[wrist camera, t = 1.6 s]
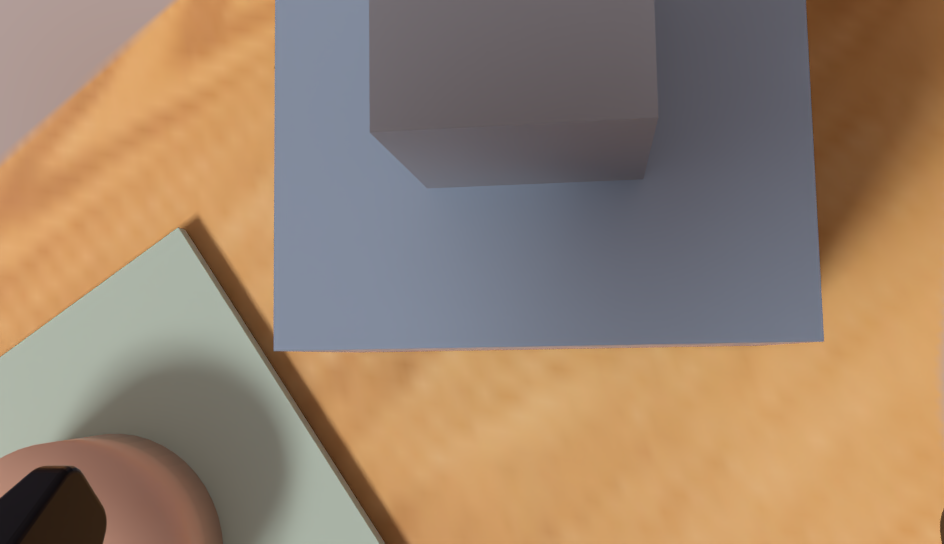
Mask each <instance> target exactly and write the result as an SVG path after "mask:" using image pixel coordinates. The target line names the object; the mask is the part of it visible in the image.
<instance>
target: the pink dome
mask: <svg viewBox="0 0 944 544" xmlns="http://www.w3.org/2000/svg"><path fill="white" fill-rule="evenodd" d="M41 466H75V467H76V468H78V469H80V470H81V472H82V473H83V474H84V476H85V478H86V479H87V481H88V482H89V484H90V486H91V487H92V489H93V491H94V492H95V494H96V495H97V497H98V499H99V500H100V502H101V504H102V505H103V507H104V509H105V513H106V518H107V527H106V534H105V538H104V542H103V544H223V539H222V530H221V526H220V522H219V517H218V514H217V511H216V508H215V506H214V503H213V500H212V498H211V496H210V495H209V493H208V491H207V489H206V487H205V485H204V484H203V483H202V481H201V480H200V478H199V477H198V475H197V474H196V473H195V472H194V471H193V470H192V468H191V467H190V466H189V465H188V464H187V463H186V462H185V461H184V460H182V459H181V458H180V457H179V456H178V455H176V454H175V453H174V452H172V451H171V450H169V449H167V448H166V447H164V446H163V445H160V444H158V443H156V442H154V441H151V440H149V439H146V438H142V437H139V436H135V435H127V434H102V435H95V436H89V437H82V438H76V439H69V440H63V441H56V442H50V443H43V444H37V445H32V446H29V447H25V448H22V449H18V450H16V451H14V452H12V453H10V454H7V455H5V456H3V457H2V458H0V497H2V496H3V495H4V494H5V493H6V492H7V491H9V490H10V489H11V488H12V487H13V486H14V485H16V484H17V483H18V482H19V481H20V480H22V479H23V478H24V477H25V476H26V475H27V474H29V473H30V472H31V471H33V470H34V469H36V468H38V467H41Z"/></svg>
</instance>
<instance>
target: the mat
mask: <svg viewBox="0 0 944 544" xmlns="http://www.w3.org/2000/svg"><path fill="white" fill-rule="evenodd" d="M102 434H127V435H135V436H139V437H142V438H146V439H149V440H151V441H154V442H156V443H158V444H160V445H163V446H164V447H166V448H167V449H169V450H171V451H172V452H174V453H175V454H176V455H178V456H179V457H180V458H181V459H182V460H184V461H185V462H186V463H187V464H188V465H189V466H190V467H191V468H192V470H193V471H194V472H195V473H196V474H197V475H198V477H199V478H200V480H201V481H202V483H203V484H204V485H205V487H206V489H207V491H208V493H209V495H210V496H211V498H212V500H213V503H214V506H215V508H216V511H217V514H218V517H219V522H220V526H221V530H222V539H223V544H385V542H384V541H383V539H382V538H381V536H380V535H379V533H378V531H377V530H376V528H375V527H374V525H373V524H372V522H371V520H370V519H369V517H368V516H367V514H366V513H365V511H364V509H363V508H362V506H361V505H360V503H359V502H358V500H357V499H356V497H355V495H354V494H353V492H352V491H351V489H350V488H349V486H348V484H347V483H346V481H345V480H344V478H343V477H342V475H341V473H340V472H339V470H338V469H337V467H336V466H335V464H334V462H333V461H332V459H331V458H330V456H329V455H328V453H327V451H326V450H325V448H324V447H323V445H322V444H321V442H320V440H319V439H318V437H317V436H316V434H315V433H314V431H313V429H312V428H311V426H310V425H309V423H308V422H307V420H306V418H305V417H304V415H303V414H302V412H301V411H300V409H299V407H298V406H297V404H296V403H295V401H294V400H293V398H292V397H291V395H290V393H289V392H288V390H287V389H286V387H285V386H284V384H283V382H282V381H281V379H280V378H279V376H278V375H277V373H276V371H275V370H274V368H273V367H272V365H271V364H270V362H269V360H268V359H267V357H266V356H265V354H264V353H263V351H262V349H261V348H260V346H259V345H258V343H257V342H256V340H255V338H254V337H253V335H252V334H251V332H250V331H249V329H248V327H247V326H246V324H245V323H244V321H243V320H242V318H241V316H240V315H239V313H238V312H237V310H236V309H235V307H234V305H233V304H232V302H231V301H230V299H229V298H228V296H227V295H226V293H225V291H224V290H223V288H222V287H221V285H220V284H219V282H218V280H217V279H216V277H215V276H214V274H213V273H212V271H211V269H210V268H209V266H208V265H207V263H206V262H205V260H204V258H203V257H202V255H201V254H200V252H199V251H198V249H197V247H196V246H195V244H194V243H193V241H192V240H191V238H190V236H189V235H188V233H187V232H186V230H185V229H182V228H177V229H175V230H174V231H173V232H171V233H170V234H168V235H167V236H166V237H164V238H163V239H162V240H160V241H159V242H158V243H156V244H155V245H153V246H152V247H151V248H149V249H148V250H147V251H145V252H144V253H142V254H141V255H140V256H138V257H137V258H136V259H134V260H133V261H131V262H130V263H129V264H127V265H126V266H125V267H123V268H122V269H120V270H119V271H118V272H116V273H115V274H114V275H112V276H111V277H110V278H108V279H107V280H105V281H104V282H103V283H101V284H100V285H99V286H97V287H96V288H94V289H93V290H92V291H90V292H89V293H88V294H86V295H85V296H83V297H82V298H81V299H79V300H78V301H77V302H75V303H74V304H72V305H71V306H70V307H68V308H67V309H66V310H64V311H63V312H62V313H60V314H59V315H57V316H56V317H55V318H53V319H52V320H51V321H49V322H48V323H46V324H45V325H44V326H42V327H41V328H40V329H38V330H37V331H35V332H34V333H33V334H31V335H30V336H29V337H27V338H26V339H25V340H23V341H22V342H20V343H19V344H18V345H16V346H15V347H14V348H12V349H11V350H9V351H8V352H7V353H5V354H4V355H3V356H1V357H0V458H2V457H3V456H5V455H7V454H10V453H12V452H14V451H16V450H18V449H22V448H25V447H29V446H32V445H37V444H43V443H50V442H56V441H63V440H69V439H76V438H82V437H89V436H95V435H102Z"/></svg>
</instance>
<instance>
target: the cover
mask: <svg viewBox="0 0 944 544" xmlns="http://www.w3.org/2000/svg"><path fill="white" fill-rule="evenodd" d="M822 341H824V333H823V314H822V295H821V276H820V258H819V239H818V220H817V201H816V182H815V163H814V145H813V126H812V107H811V88H810V69H809V50H808V31H807V13H806V0H275V169H274V351H302V352H407V351H465V350H523V349H582V348H640V347H698V346H757V345H776V344H792V343H807V342H822Z"/></svg>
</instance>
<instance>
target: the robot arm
mask: <svg viewBox="0 0 944 544" xmlns="http://www.w3.org/2000/svg"><path fill="white" fill-rule="evenodd" d="M106 527H107V518H106V513H105V509H104V507H103V505H102V504H101V502H100V500H99V499H98V497H97V495H96V494H95V492H94V491H93V489H92V487H91V486H90V484H89V482H88V481H87V479H86V478H85V476H84V474H83V473H82V472H81V470H80V469H78V468H76V467H75V466H41V467H38V468H36V469H34V470H33V471H31V472H30V473H29V474H27V475H26V476H25V477H24V478H23V479H22V480H20V481H19V482H18V483H17V484H16V485H14V486H13V487H12V488H11V489H10V490H9V491H7V492H6V493H5V494H4V495H3V496H2V497H0V544H103V542H104V538H105V534H106ZM940 533H941V541H942V544H944V510H943V512H942V516H941V521H940Z"/></svg>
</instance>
